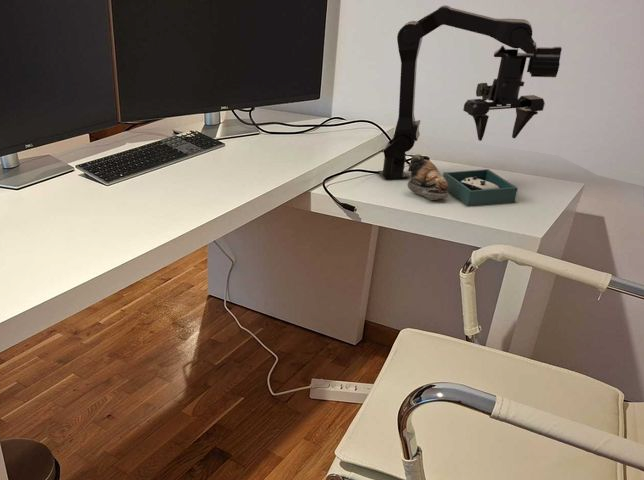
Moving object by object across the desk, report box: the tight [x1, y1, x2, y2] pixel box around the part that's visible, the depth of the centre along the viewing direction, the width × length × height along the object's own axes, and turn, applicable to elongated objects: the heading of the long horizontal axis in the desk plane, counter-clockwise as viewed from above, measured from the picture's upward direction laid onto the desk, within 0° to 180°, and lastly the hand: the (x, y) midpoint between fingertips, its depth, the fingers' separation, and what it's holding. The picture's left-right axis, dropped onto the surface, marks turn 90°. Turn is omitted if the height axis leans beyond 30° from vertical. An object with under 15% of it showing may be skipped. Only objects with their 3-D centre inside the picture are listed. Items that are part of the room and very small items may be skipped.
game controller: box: [461, 176, 499, 191], centre depth 174 cm, size 10×5×6 cm
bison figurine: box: [407, 153, 449, 201], centre depth 172 cm, size 12×7×10 cm, turn 33°
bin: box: [442, 168, 519, 207], centre depth 174 cm, size 15×12×4 cm
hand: (496, 139), depth 174 cm, fingers open, 9 cm apart
